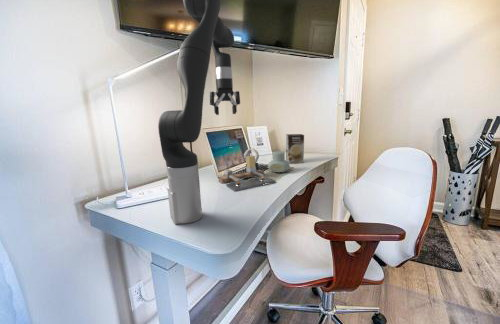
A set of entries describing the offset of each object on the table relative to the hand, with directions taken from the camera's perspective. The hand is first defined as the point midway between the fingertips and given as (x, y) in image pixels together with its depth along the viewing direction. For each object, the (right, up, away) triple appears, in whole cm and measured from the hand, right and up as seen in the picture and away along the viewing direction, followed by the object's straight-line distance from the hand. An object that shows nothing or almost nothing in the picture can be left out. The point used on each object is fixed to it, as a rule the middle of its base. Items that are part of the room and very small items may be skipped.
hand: (225, 114), depth 121 cm
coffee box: (+37, -23, +28) cm, 52 cm away
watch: (+12, -26, +16) cm, 33 cm away
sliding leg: (+14, -29, -1) cm, 32 cm away
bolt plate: (+12, -32, -9) cm, 35 cm away
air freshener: (+26, -27, +10) cm, 39 cm away
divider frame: (+10, -31, -3) cm, 33 cm away
